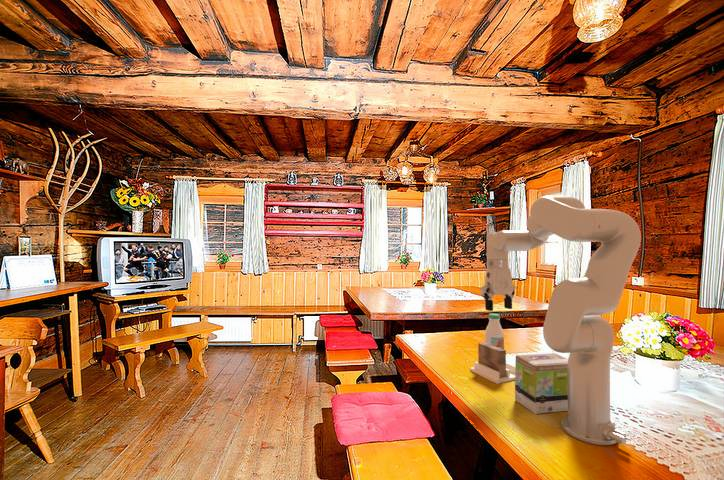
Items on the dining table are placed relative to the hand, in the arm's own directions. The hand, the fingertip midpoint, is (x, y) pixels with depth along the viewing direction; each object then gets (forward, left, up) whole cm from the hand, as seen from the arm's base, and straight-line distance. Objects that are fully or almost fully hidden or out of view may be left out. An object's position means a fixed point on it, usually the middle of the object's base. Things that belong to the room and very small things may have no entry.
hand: (498, 309), depth 126 cm
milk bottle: (+15, -13, -26) cm, 33 cm away
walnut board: (+3, +1, -25) cm, 25 cm away
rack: (+3, -2, -26) cm, 26 cm away
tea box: (-22, +3, -26) cm, 34 cm away
